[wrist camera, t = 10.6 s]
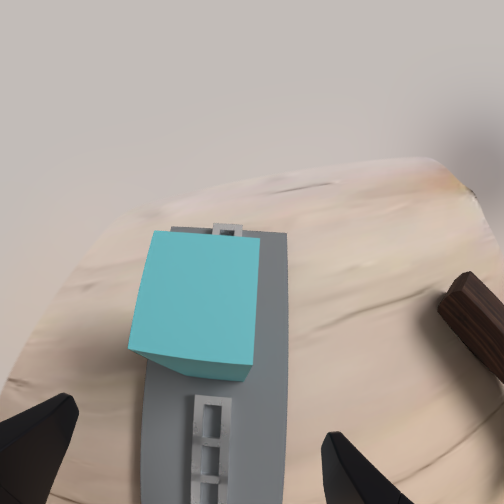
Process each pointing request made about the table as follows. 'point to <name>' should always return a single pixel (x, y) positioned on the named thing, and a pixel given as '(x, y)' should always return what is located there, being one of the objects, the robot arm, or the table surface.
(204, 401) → the steel chain
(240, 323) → the teal block
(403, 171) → the table surface
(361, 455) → the robot arm
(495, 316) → the hammer
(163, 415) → the rubber mat
